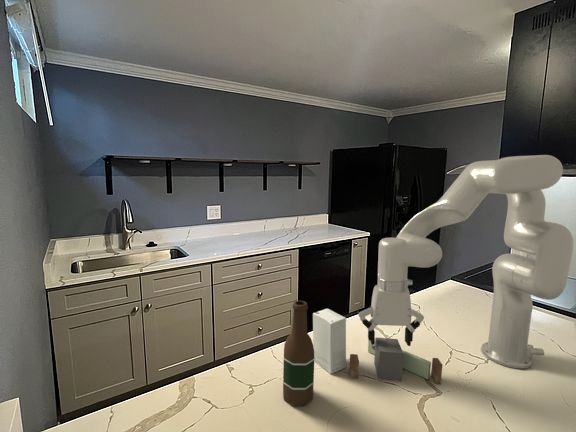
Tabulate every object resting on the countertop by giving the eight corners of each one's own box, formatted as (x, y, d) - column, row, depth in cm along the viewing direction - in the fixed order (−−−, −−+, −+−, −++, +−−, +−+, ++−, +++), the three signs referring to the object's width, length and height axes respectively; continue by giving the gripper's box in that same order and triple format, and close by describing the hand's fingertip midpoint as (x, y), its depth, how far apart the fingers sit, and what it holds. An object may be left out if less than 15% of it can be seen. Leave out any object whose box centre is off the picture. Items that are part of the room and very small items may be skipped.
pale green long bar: (436, 376, 84) (437, 358, 83) (440, 384, 81) (442, 364, 80) (349, 370, 86) (350, 352, 85) (350, 377, 83) (351, 358, 82)
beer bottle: (289, 412, 70) (291, 312, 67) (277, 390, 78) (278, 298, 74) (319, 402, 74) (323, 306, 70) (304, 382, 81) (307, 294, 77)
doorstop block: (395, 365, 89) (397, 339, 88) (401, 381, 82) (403, 353, 81) (374, 363, 89) (375, 337, 88) (378, 379, 83) (379, 351, 81)
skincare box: (346, 368, 87) (348, 318, 85) (329, 375, 84) (332, 323, 82) (326, 353, 94) (328, 307, 92) (310, 359, 91) (312, 311, 88)
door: (429, 377, 83) (431, 361, 83) (426, 381, 82) (427, 365, 81) (369, 349, 96) (370, 336, 95) (366, 352, 94) (367, 338, 94)
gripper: (420, 279, 86) (417, 336, 89) (357, 278, 88) (356, 334, 90) (430, 289, 79) (426, 351, 81) (361, 288, 81) (360, 349, 83)
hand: (389, 342), depth 86 cm, fingers open, 9 cm apart
